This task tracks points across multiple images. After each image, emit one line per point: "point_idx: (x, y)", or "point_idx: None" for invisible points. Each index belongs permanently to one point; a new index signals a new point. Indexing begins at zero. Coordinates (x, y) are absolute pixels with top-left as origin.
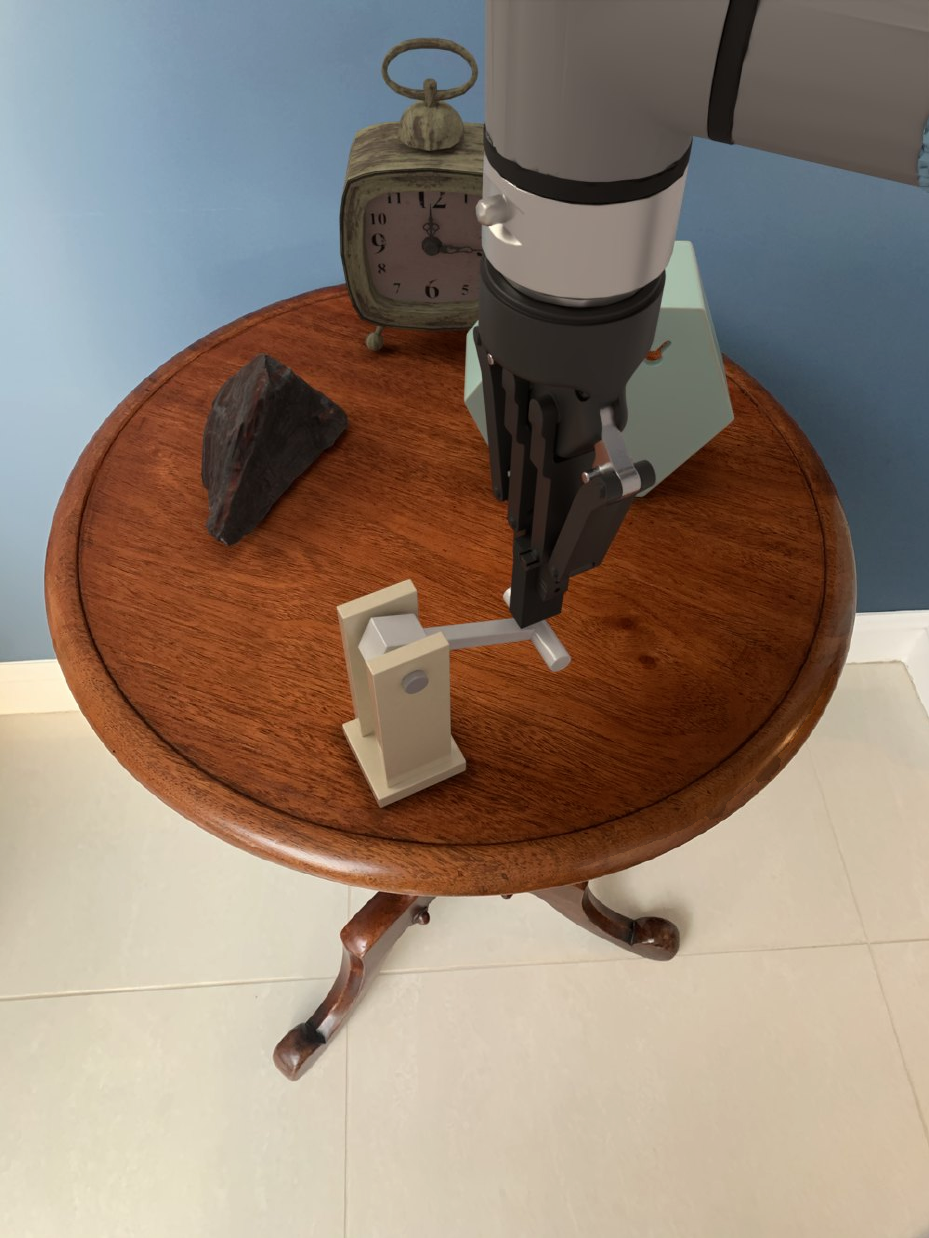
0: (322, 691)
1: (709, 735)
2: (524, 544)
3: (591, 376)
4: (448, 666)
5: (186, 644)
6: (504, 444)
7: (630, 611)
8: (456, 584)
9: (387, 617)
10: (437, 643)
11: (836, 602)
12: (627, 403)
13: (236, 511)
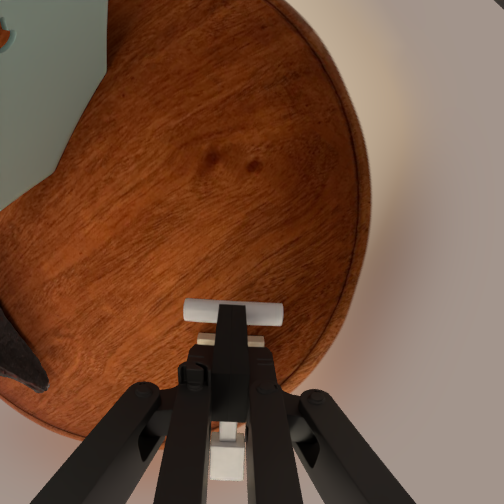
0: (163, 378)
1: (336, 169)
2: (225, 417)
3: None
4: None
5: (105, 414)
6: (127, 489)
7: (203, 148)
8: (112, 262)
9: (211, 468)
10: None
11: (286, 5)
12: (32, 73)
13: (29, 375)
